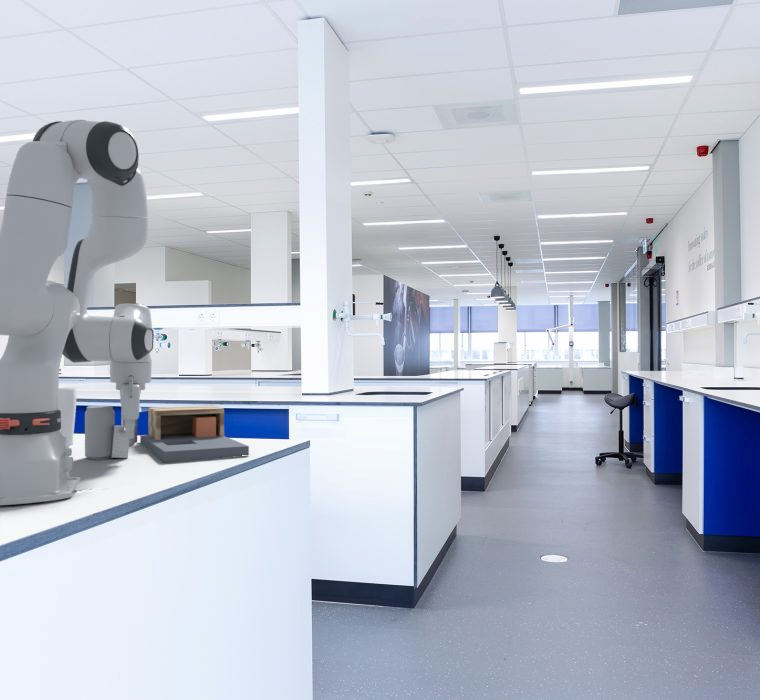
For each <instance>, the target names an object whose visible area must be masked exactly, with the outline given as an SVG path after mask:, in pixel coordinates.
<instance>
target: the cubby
mask: <svg viewBox="0 0 760 700" xmlns="http://www.w3.org/2000/svg"><path fill="white" fill-rule="evenodd" d="M147 414H148V416H147V417H148V420H147V428H148V429H147V433H148V434H147V435H149V436H151V437H153V438H154V439H156V440H161V435H162V434H181V433H192V416H210V415H211V416H214V417H216V435H218V436H225V408H223V407H220V406H217V405H213V404H207V405H205V404H204V405H183V406H181V405H180V406H177V405H176V406H154V407H153V406H151V407H149V406H148V408H147Z"/></svg>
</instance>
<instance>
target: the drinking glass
mask: <svg viewBox="0 0 760 700" xmlns="http://www.w3.org/2000/svg"><path fill="white" fill-rule="evenodd" d="M76 409H77V388H76V387H59V392H58V410H60V411H61V417H62V421H61V429H60V432H61V434H62V435H63V436H64V437H66V439H68V440H69V447H70V446H73V445H74V433H75V423H76V412H77V410H76Z"/></svg>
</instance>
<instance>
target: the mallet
mask: <svg viewBox="0 0 760 700" xmlns="http://www.w3.org/2000/svg"><path fill="white" fill-rule="evenodd" d="M120 420H121V423H120V424H121V425H124V426H125V419H122V417H121V418H120ZM134 435H135V441H134V444H136V443H135V442H137V443H138V419H135V427H134Z"/></svg>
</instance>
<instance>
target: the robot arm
mask: <svg viewBox="0 0 760 700" xmlns="http://www.w3.org/2000/svg"><path fill="white" fill-rule="evenodd" d="M138 167H139V148H138V144H137V141H136V140H135V137H134V135H133V134H132V132H131V131H130V130H129V129H128V128H127V127H125V126H124V125H122V124H119V123H115V122H112V121H95V120H86V119H72V120H66V121H61V120H59V121H57V120H56V121H53V122H49V123H47V124H45V125H43V126H42V127H40V128H39V129H38V131H37V132H36V133H35V135H34V137H33V139H32V141H28V142H26V143H24V144H23V145H21V147H20V148H19V149H18V151H17V153H16V156H15V158H14V161H13V165H12V167H11V170H10V175H9V179H8V184H7V190H6V196H5V202H4V207H3V208H4V210H3V217H2V221H1V222H2V224H1V229H0V336H8V339H7V343H6V347H5V348H4V349H5V350H4V351H3V354H2V357H0V506H8V505H9V506H11V505H22V504H32V503H33V504H34V503H42V502H43V503H45V502H51V501H59V500H64V499H69V498H71V497H72V496H73V495H74V494H75V492H77V487H78V485H79V484H80V482H81V481H82V480H81V477H79V476H70V473H71V472H72V470H74V469H73V468H74V457H73V456H72V448H70V446H69V440H68V439H66V437H64V436H63V435H62V434H61V432H60V429H61V421H62V417H61V411H60V410H58V392H59V388H60V387H59V384H60V381H59V380H60V379H59V378H60V366H61V362H62V361H61V360H62V358H63V357H62V356H64V357H65V358H66V359H68V360H69V361H70V362H72V363H75V364H76V363H88V362H89V363H90V362H110V367H109V368H110V370H109V373H110V374H109V375H110V376H109V382H110V383H113V384H114V383H115V390H116V391H119V395H120V396H119V399H120V408H121V410H120V412H121V413H120V416H121V418H122V419H125V438H127V439H132V438H133V437H134V427H135V419H137V420H138V419H140V401H141V400H140V397H141V393H142V392H141V391H144V390H146V384H148V383H149V384H150V383H152V368H153V367H152V366H153V365H152V357H151V352H152V351H153V349H154V336H155V335H154V329H153V324H152V315H151V309H150V308H149V307H148V306H146V305H144V304H140V303H137V302H122V303H118V304H116V306H115V307H114V311H113V316H99V315H98V316H95V315H89V314H88V306H89V299H90V294H91V293H90V292H91V286H92V281H93V278H94V276H95V274H96V272H97V271H99V270H100V269H101V268H104V267H106V266H109V265H111V264H115V263H117V262H121V261H124V260H126V259H128V258H131V257H133V256H135V255H136V254H137V253H139V252H140V251H141V250H142V249H143V247H144V246H145V245H146V243H147V240H148V232H149V209H148V198H147V191H146V185H145V180H144V176H143V173H142V172H141V170H140V169H139V168H138ZM79 179H82V180H86V182H87V183H88V185H89V187H90V190H91V193H92V195H91V196H92V197H91V221H90V222H91V223H90V227H89V230H88V232H87V234H86V236H85V237H84V238H83V239H80V240H79V241H77V243H76V245H75V247H74V249H73V253H72V258H71V263H70V267H69V273H68V274H69V275H68V280H67V286H63V285H61V284H60V283H57V282H56V281H52V280H48V278H49V274H50V273H51V270H52V268H53V266H54V264H55V263H56V261H57V260H58V258H59V257H61V255H63V254H64V253H65V251H66V250H67V248H68V241H69V236H70V235H69V234H70V227H71V219H72V213H73V212H72V211H73V205H74V194H75V193H74V191H75V186H76V184H77V182H78V180H79Z"/></svg>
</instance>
